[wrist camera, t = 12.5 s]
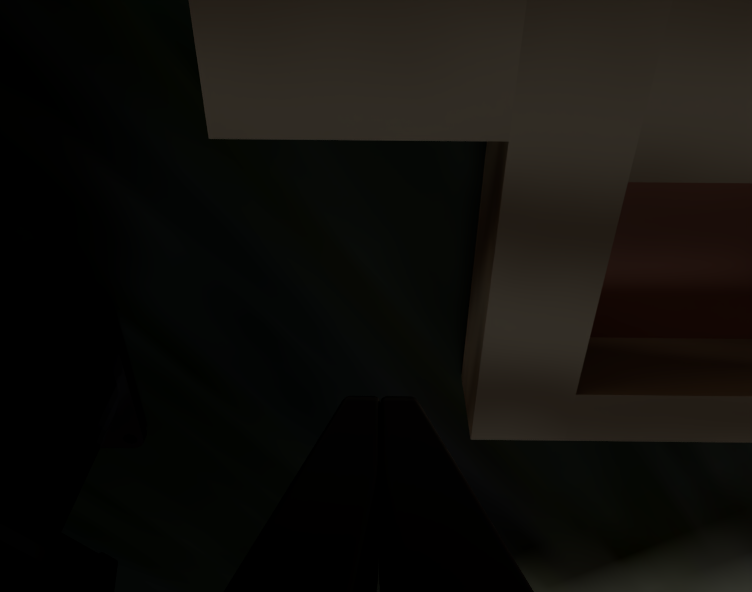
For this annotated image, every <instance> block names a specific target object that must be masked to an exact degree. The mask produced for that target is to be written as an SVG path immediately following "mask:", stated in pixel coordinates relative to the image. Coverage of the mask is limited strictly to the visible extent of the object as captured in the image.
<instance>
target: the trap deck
mask: <svg viewBox="0 0 752 592" xmlns="http://www.w3.org/2000/svg"><path fill="white" fill-rule="evenodd" d="M189 6H190V13H191V19H192V26H193V33H194V40H195V47H196V54H197V61H198V67H199V74H200V81H201V88H202V95H203V102H204V109H205V116H206V122H207V129H208V136H209V139H289V140H398V141H487V145H486V154H485V163H484V173H483V182H482V191H481V201H480V210H479V219H478V228H477V238H476V247H475V256H474V265H473V275H472V284H471V293H470V302H469V312H468V321H467V330H466V340H465V349H464V358H463V367H462V383H463V390H464V397H465V404H466V411H467V417H468V424H469V431H470V438H471V440H564V441H659V442H752V0H189Z"/></svg>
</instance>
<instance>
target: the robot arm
mask: <svg viewBox="0 0 752 592" xmlns="http://www.w3.org/2000/svg"><path fill="white" fill-rule="evenodd" d="M93 316H98V317H99V318H101V319H102V321H100V320H96V319H95V318H94V317H93ZM130 434H131V435H130ZM146 435H147V431H146V427H145V423H144V420H143V416H142V412H141V409H140V405H139V402H138V398H137V394H136V391H135V387H134V383H133V380H132V376H131V372H130V369H129V365H128V362H127V358H126V354H125V351H124V347H123V343H122V340H121V336H120V333H119V329H118V325H117V322H116V318H115V315H114V313H113V311H112V309H110V308H109V307H108V306H107V305H104V304H102V303H97V302H37V301H16V300H0V592H114V588H115V580H116V573H117V565H118V561H117V560H115V559H114V558H112V557H110V556H108V555H107V554H105V553H103V552H101V553H99V554H98V553H97V552H95V551H93V550H91V549H90V548H88V547H86V546H84V545H82V544H81V543H79V542H77V541H75V540H74V539H72V538H70V537H68V536H67V535H65V534H63V533H61V531H62V529H63V527H64V525H65V523H66V521H67V518H68V516H69V514H70V512H71V510H72V508H73V505H74V503H75V501H76V499H77V497H78V495H79V492H80V490H81V488H82V486H83V484H84V482H85V479H86V477H87V475H88V473H89V471H90V469H91V466H92V464H93V462H94V460H95V458H96V456H97V454H98V451H99V449H100V448H137V447H140V446H141V445H142V444H143V443H144V440H145V437H146ZM378 561H379V584H380V592H533V590H532V588H531V587H530V585H529V583H528V582H527V580H526V578H525V577H524V575H523V573H522V572H521V570H520V569H519V567H518V565H517V564H516V562H515V560H514V559H513V557H512V555H511V554H510V552H509V550H508V549H507V547H506V545H505V544H504V542H503V541H502V539H501V537H500V536H499V534H498V532H497V531H496V529H495V527H494V526H493V524H492V522H491V521H490V519H489V517H488V516H487V514H486V513H485V511H484V509H483V508H482V506H481V504H480V503H479V501H478V499H477V498H476V496H475V494H474V493H473V491H472V489H471V488H470V486H469V485H468V483H467V481H466V480H465V478H464V476H463V475H462V473H461V471H460V470H459V468H458V466H457V465H456V463H455V461H454V460H453V458H452V457H451V455H450V453H449V452H448V450H447V448H446V447H445V445H444V443H443V442H442V440H441V438H440V437H439V435H438V433H437V432H436V430H435V429H434V427H433V425H432V424H431V422H430V420H429V419H428V417H427V415H426V414H425V412H424V410H423V409H422V407H421V406H420V404H419V402H418V401H417V400H416V399H415V398H413V397H406V396H386V397H383V398H382V399H381V402H380V400H379V399H378V398H377V397H375V396H348V397H346V398H345V399H344V400H343V401H342V402H341V404H340V405H339V407H338V409H337V410H336V412H335V413H334V415H333V417H332V418H331V420H330V422H329V423H328V425H327V426H326V428H325V430H324V431H323V433H322V434H321V436H320V438H319V439H318V441H317V442H316V444H315V446H314V447H313V449H312V450H311V452H310V454H309V455H308V457H307V459H306V460H305V462H304V463H303V465H302V467H301V468H300V470H299V471H298V473H297V475H296V476H295V478H294V479H293V481H292V483H291V484H290V486H289V488H288V489H287V491H286V492H285V494H284V496H283V497H282V499H281V500H280V502H279V504H278V505H277V507H276V508H275V510H274V512H273V513H272V515H271V517H270V518H269V520H268V521H267V523H266V525H265V526H264V528H263V529H262V531H261V533H260V534H259V536H258V537H257V539H256V541H255V542H254V544H253V546H252V547H251V549H250V550H249V552H248V554H247V555H246V557H245V558H244V560H243V562H242V563H241V565H240V566H239V568H238V570H237V571H236V573H235V574H234V576H233V578H232V579H231V581H230V583H229V584H228V586H227V587H226V589H225V591H224V592H377V585H378Z"/></svg>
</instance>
